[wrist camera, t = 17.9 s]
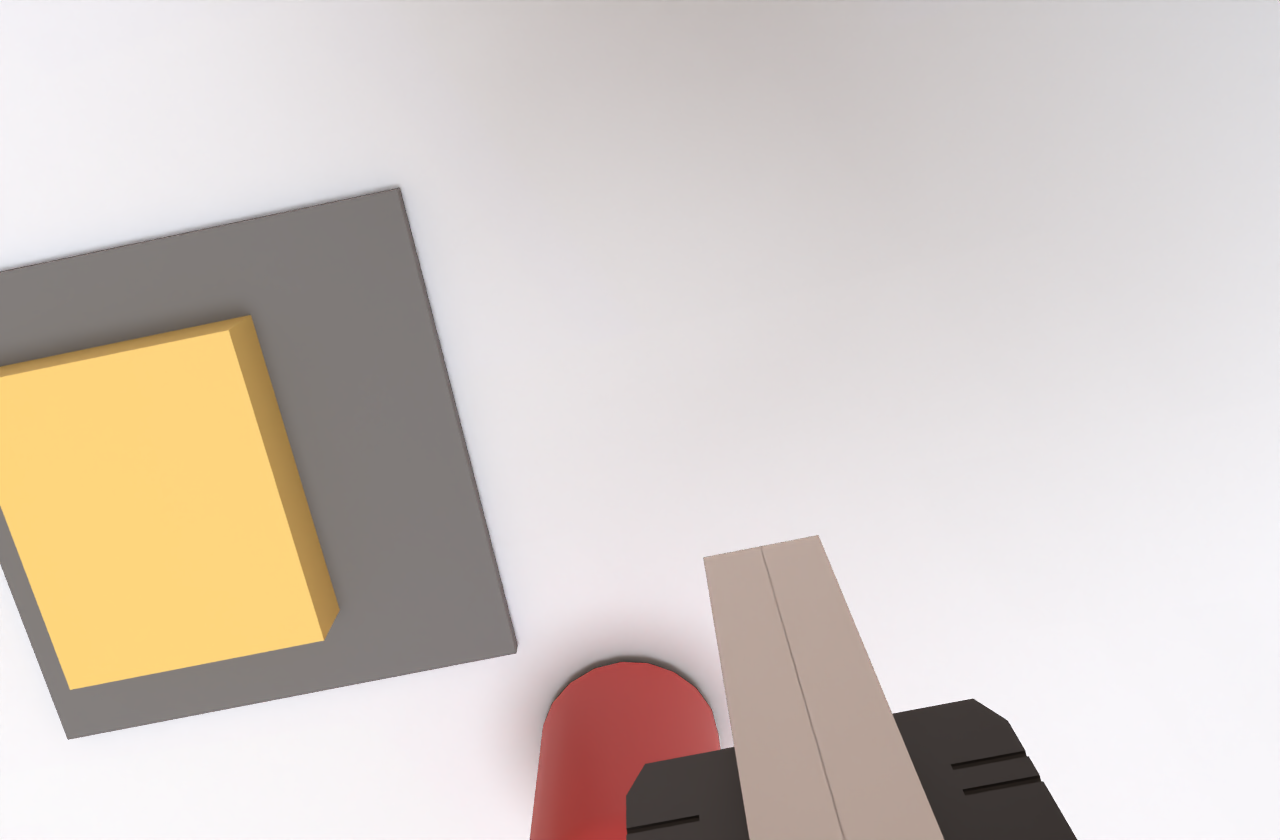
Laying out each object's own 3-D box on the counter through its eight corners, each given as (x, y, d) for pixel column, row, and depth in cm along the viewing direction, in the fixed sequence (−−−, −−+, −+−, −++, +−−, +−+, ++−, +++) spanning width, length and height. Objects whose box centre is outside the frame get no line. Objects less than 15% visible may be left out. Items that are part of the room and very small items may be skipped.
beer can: (636, 620, 45) (641, 814, 33) (752, 737, 46) (796, 962, 35) (506, 727, 46) (468, 951, 34) (623, 838, 47) (624, 1089, 36)
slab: (250, 314, 41) (-8, 368, 41) (228, 330, 38) (-45, 386, 39) (339, 610, 44) (98, 657, 44) (323, 640, 41) (70, 689, 42)
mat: (-93, 291, 41) (-103, 294, 40) (399, 187, 40) (396, 189, 40) (74, 731, 46) (68, 739, 45) (517, 645, 45) (516, 653, 44)
